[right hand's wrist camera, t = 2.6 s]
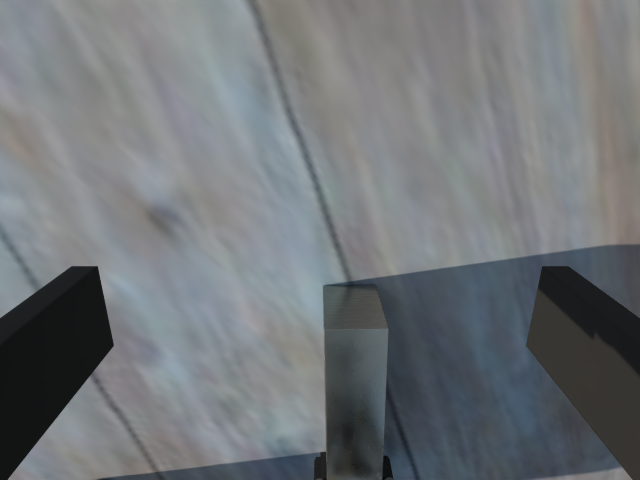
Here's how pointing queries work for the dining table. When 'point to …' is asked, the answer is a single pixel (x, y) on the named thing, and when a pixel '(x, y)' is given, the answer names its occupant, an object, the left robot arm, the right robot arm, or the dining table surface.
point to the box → (354, 381)
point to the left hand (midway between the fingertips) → (351, 457)
